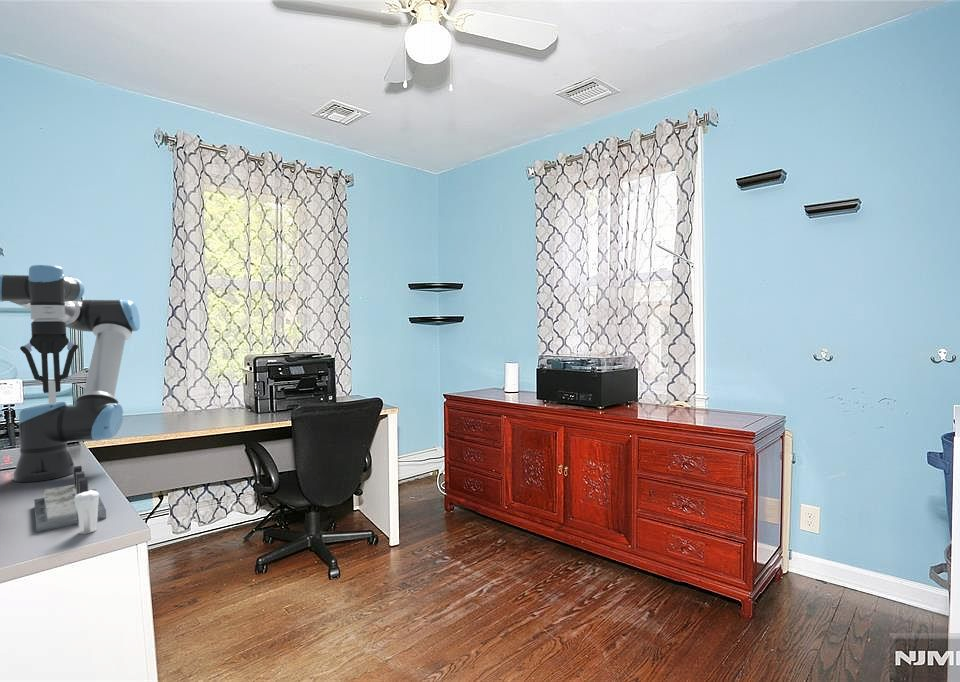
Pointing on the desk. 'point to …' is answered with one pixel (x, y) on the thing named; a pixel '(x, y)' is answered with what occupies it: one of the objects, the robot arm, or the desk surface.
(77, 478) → the breaker
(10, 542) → the desk surface
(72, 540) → the desk surface
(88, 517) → the milkshake
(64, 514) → the breaker panel
